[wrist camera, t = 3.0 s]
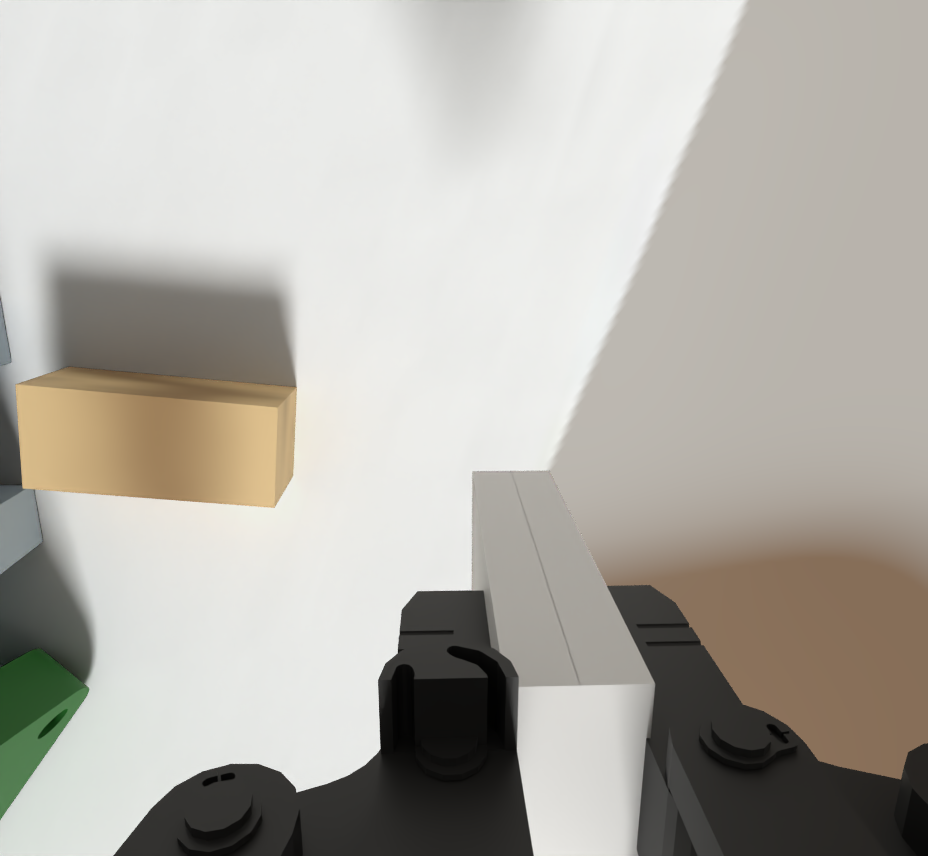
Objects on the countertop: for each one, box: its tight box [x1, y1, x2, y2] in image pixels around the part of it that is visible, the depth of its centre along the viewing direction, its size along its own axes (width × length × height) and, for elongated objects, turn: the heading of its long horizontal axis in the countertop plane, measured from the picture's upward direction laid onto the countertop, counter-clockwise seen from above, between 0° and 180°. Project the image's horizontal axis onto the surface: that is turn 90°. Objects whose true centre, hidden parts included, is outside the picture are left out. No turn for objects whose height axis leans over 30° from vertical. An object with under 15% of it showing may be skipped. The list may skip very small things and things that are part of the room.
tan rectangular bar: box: [15, 367, 297, 508], centre depth 20 cm, size 7×3×3 cm, turn 84°
